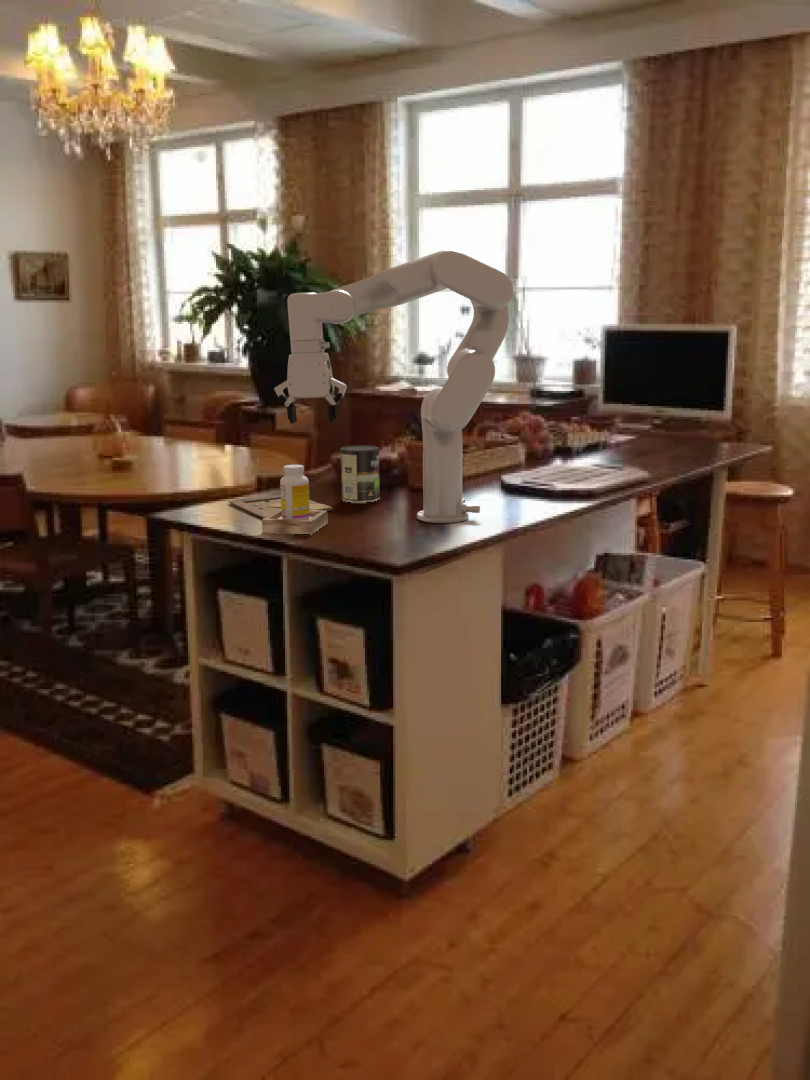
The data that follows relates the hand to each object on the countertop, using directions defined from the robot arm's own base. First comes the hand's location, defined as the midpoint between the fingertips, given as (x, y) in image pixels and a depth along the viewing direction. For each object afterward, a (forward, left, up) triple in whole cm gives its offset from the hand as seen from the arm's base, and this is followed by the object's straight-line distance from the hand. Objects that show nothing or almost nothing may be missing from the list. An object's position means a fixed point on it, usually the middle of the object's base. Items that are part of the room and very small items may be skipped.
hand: (313, 422), depth 228 cm
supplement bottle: (+3, +5, -23) cm, 23 cm away
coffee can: (-2, -30, -25) cm, 39 cm away
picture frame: (+16, -16, -25) cm, 34 cm away
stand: (+4, +5, -25) cm, 25 cm away
